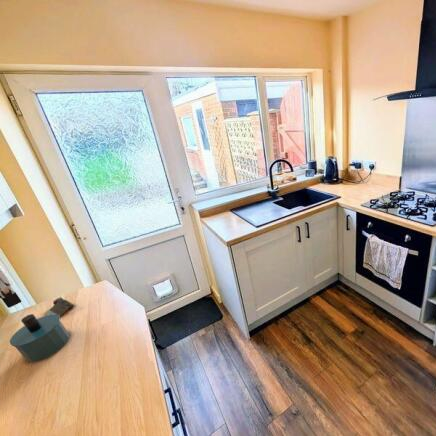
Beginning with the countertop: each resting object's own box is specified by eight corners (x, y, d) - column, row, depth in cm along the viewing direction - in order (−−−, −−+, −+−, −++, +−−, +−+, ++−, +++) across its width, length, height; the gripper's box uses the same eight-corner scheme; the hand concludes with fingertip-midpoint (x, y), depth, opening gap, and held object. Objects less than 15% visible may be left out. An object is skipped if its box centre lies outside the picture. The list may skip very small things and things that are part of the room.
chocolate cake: (39, 316, 108) (35, 308, 100) (53, 302, 113) (51, 293, 105) (62, 325, 110) (60, 318, 102) (75, 310, 115) (74, 302, 107)
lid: (18, 354, 80) (6, 340, 77) (6, 338, 87) (-5, 325, 84) (67, 323, 90) (58, 310, 87) (53, 312, 97) (44, 299, 94)
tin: (32, 368, 84) (18, 351, 80) (21, 353, 90) (7, 337, 86) (74, 339, 93) (64, 323, 90) (62, 327, 99) (51, 312, 96)
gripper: (-45, 256, 76) (-12, 299, 83) (-34, 271, 68) (2, 316, 75) (-10, 245, 82) (18, 285, 89) (4, 257, 74) (34, 300, 81)
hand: (10, 299), depth 82 cm, fingers open, 9 cm apart
